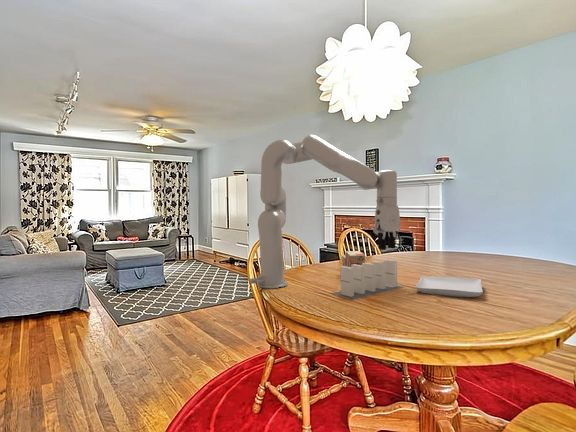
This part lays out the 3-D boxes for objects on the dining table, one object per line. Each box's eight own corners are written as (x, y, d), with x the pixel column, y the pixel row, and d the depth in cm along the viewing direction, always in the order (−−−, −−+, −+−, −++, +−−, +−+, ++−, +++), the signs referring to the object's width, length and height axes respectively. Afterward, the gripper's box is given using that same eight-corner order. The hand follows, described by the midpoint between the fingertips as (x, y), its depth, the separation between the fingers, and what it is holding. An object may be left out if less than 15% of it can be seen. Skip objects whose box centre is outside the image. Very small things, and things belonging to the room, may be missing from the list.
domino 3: (372, 291, 127) (371, 264, 127) (362, 289, 131) (361, 263, 131) (375, 291, 128) (375, 264, 128) (365, 288, 132) (365, 262, 132)
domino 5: (394, 287, 133) (394, 261, 132) (384, 285, 137) (383, 259, 136) (397, 286, 133) (397, 261, 133) (387, 284, 138) (386, 259, 137)
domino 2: (361, 294, 124) (361, 266, 124) (351, 291, 128) (351, 264, 128) (365, 293, 125) (364, 266, 125) (355, 290, 129) (354, 264, 129)
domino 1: (350, 296, 121) (349, 268, 121) (340, 294, 125) (340, 266, 125) (353, 296, 122) (353, 267, 122) (344, 293, 126) (343, 266, 126)
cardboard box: (342, 274, 162) (341, 248, 162) (355, 274, 162) (355, 248, 162) (350, 285, 141) (349, 255, 141) (365, 284, 141) (365, 254, 141)
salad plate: (415, 295, 123) (414, 286, 123) (422, 283, 142) (421, 274, 142) (483, 302, 113) (483, 291, 113) (481, 287, 132) (481, 278, 132)
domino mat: (352, 300, 117) (352, 299, 117) (330, 294, 127) (330, 293, 127) (405, 288, 133) (405, 286, 133) (382, 283, 142) (382, 282, 142)
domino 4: (382, 289, 130) (382, 263, 130) (372, 287, 134) (372, 261, 134) (385, 288, 131) (385, 262, 131) (375, 286, 135) (374, 260, 135)
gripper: (379, 202, 127) (379, 251, 128) (408, 201, 136) (408, 247, 137) (364, 202, 133) (364, 249, 134) (393, 202, 143) (393, 246, 143)
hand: (386, 248), depth 135 cm, fingers open, 4 cm apart
